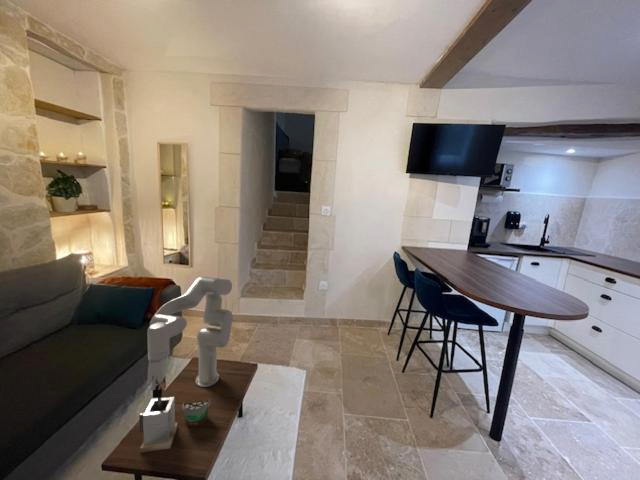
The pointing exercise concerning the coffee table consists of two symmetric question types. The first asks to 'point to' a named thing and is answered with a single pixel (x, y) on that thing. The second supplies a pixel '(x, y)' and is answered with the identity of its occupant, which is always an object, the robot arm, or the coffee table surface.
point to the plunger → (162, 393)
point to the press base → (160, 446)
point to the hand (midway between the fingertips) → (159, 392)
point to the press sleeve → (158, 421)
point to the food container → (196, 413)
